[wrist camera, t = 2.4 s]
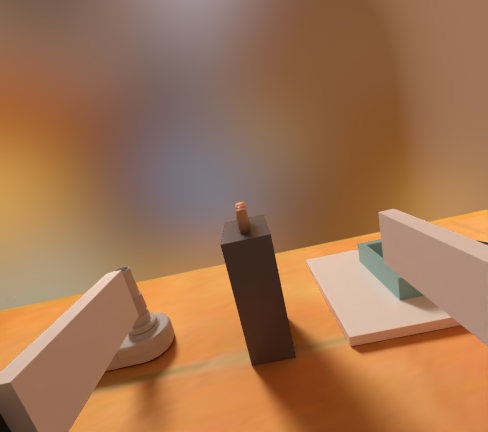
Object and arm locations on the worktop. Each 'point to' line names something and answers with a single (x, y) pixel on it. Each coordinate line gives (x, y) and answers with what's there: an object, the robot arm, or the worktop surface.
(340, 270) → the header board
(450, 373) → the worktop surface
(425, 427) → the worktop surface
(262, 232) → the block
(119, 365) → the electronic device
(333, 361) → the worktop surface
